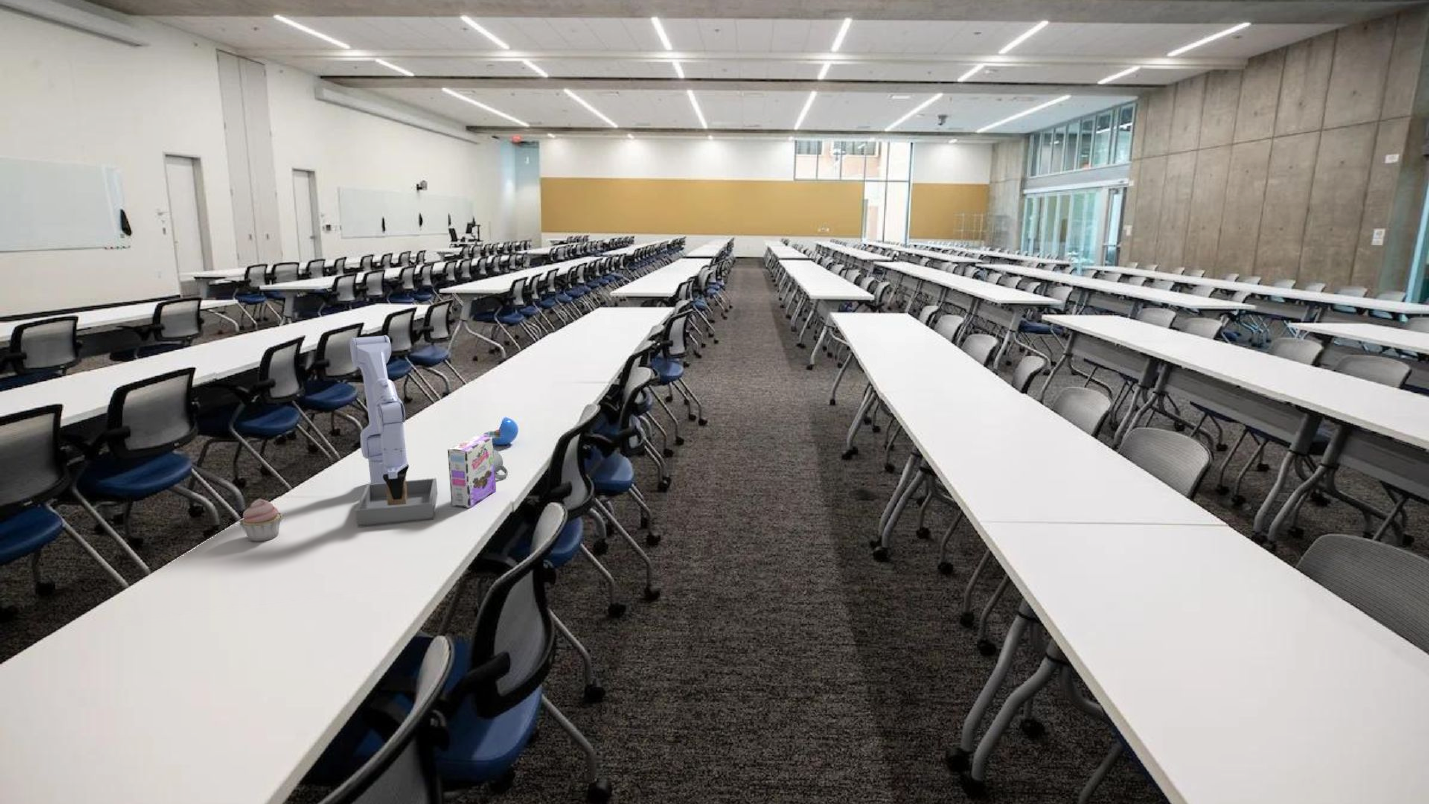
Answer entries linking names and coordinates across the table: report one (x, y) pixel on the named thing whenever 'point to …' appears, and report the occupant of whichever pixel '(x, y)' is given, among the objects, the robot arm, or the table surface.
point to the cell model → (504, 432)
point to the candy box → (471, 471)
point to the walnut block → (397, 501)
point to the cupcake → (261, 521)
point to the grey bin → (415, 509)
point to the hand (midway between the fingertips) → (398, 495)
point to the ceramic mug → (499, 465)
